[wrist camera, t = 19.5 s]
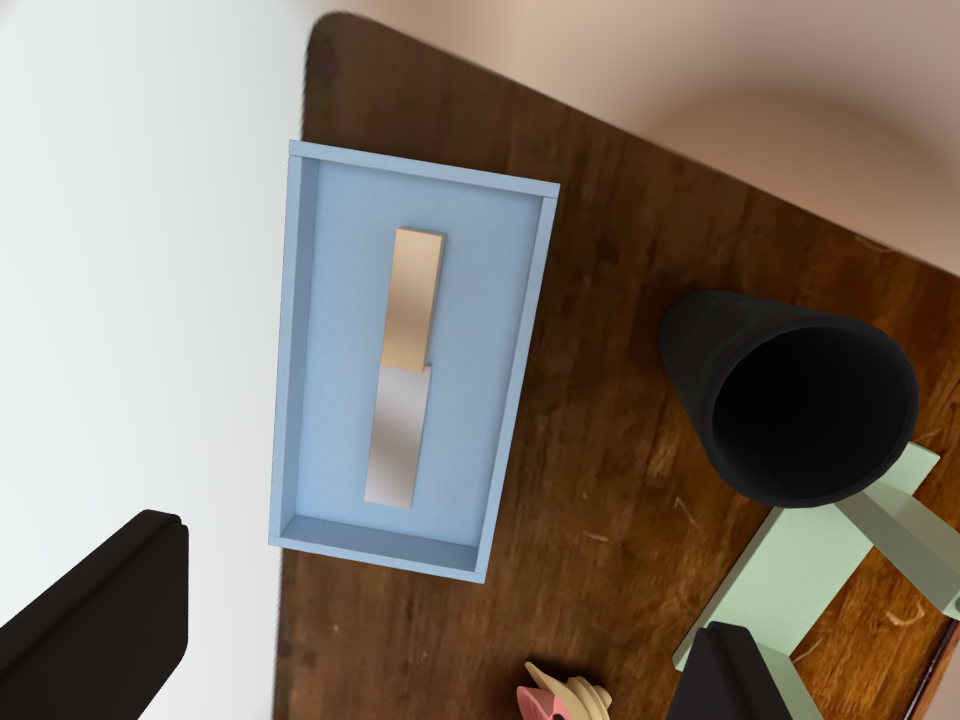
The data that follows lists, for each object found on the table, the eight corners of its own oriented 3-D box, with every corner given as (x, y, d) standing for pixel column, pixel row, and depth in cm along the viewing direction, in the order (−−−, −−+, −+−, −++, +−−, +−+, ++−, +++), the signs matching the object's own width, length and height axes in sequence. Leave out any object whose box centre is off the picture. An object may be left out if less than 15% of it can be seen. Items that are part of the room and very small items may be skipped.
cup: (721, 422, 34) (824, 543, 22) (612, 359, 33) (660, 449, 21) (806, 313, 31) (970, 384, 20) (692, 243, 31) (792, 274, 19)
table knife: (398, 224, 31) (390, 227, 29) (452, 234, 31) (448, 237, 29) (366, 495, 36) (357, 512, 34) (412, 504, 36) (406, 522, 34)
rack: (838, 409, 33) (1069, 569, 19) (929, 449, 33) (1221, 635, 19) (670, 657, 39) (753, 918, 25) (749, 689, 39) (874, 964, 25)
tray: (313, 144, 31) (289, 139, 28) (556, 184, 30) (560, 183, 27) (289, 515, 38) (267, 545, 34) (487, 551, 37) (483, 584, 34)
